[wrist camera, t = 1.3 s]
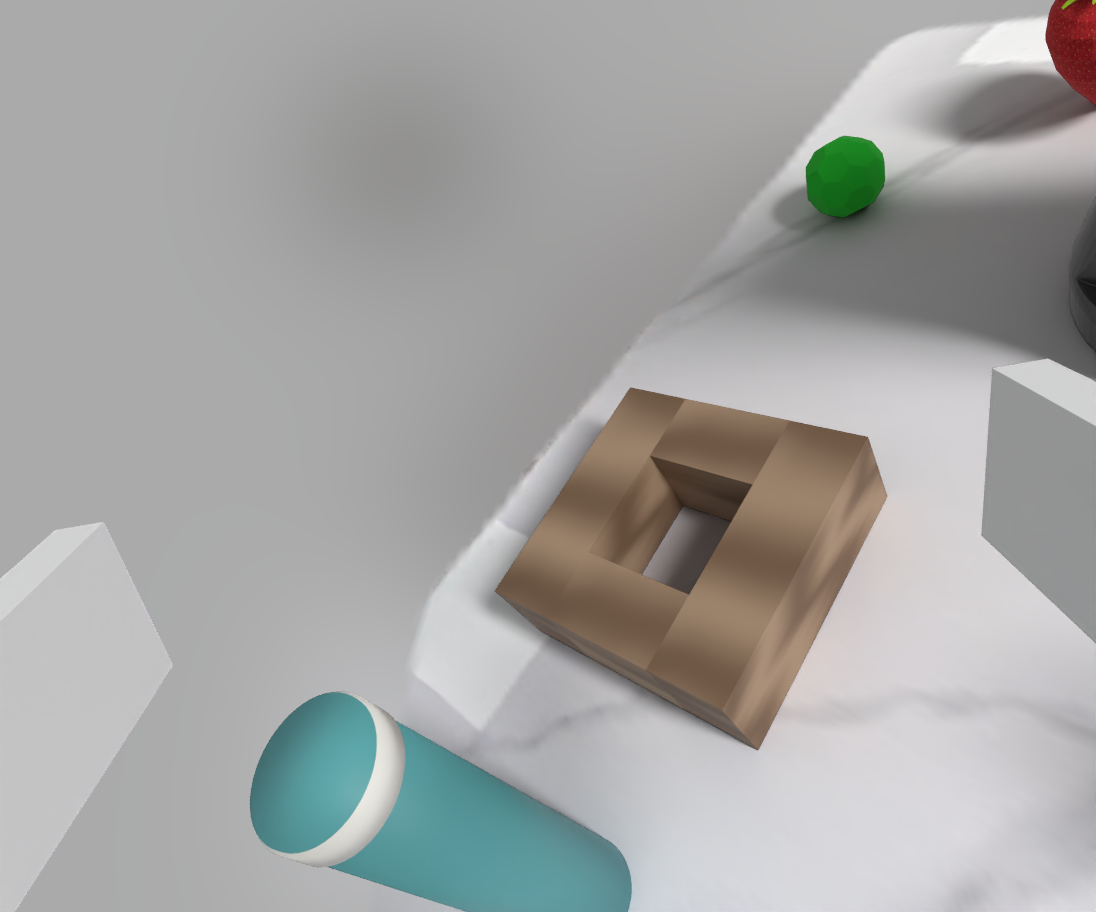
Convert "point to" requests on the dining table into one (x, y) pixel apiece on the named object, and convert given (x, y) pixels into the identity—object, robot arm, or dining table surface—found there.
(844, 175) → the polyhedron
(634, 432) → the socket block
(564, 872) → the peg
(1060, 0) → the strawberry
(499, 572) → the dining table surface
